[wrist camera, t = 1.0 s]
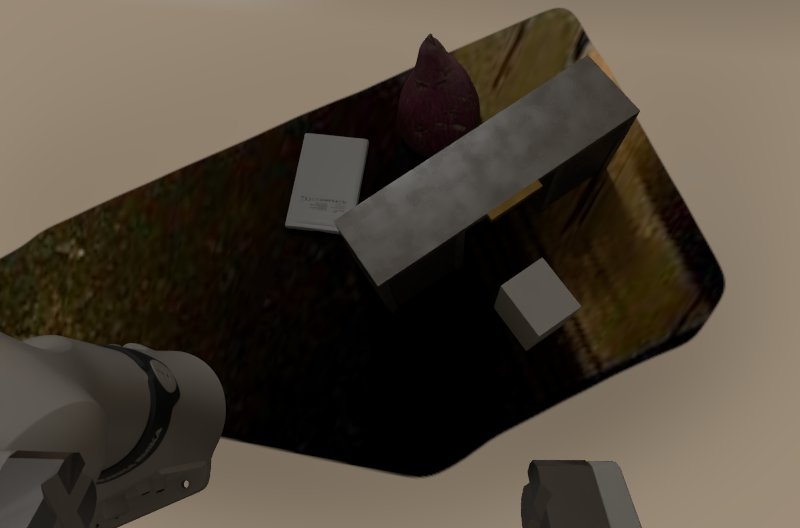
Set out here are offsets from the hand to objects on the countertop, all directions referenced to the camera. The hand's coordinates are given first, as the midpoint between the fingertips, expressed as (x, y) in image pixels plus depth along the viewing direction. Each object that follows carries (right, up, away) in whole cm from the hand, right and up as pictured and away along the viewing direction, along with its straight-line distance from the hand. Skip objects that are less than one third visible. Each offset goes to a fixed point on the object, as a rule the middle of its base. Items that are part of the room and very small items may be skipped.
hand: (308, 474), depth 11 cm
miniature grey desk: (+11, +10, +59) cm, 61 cm away
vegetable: (+7, +22, +63) cm, 67 cm away
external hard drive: (-7, +13, +63) cm, 64 cm away
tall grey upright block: (+16, -2, +55) cm, 58 cm away
